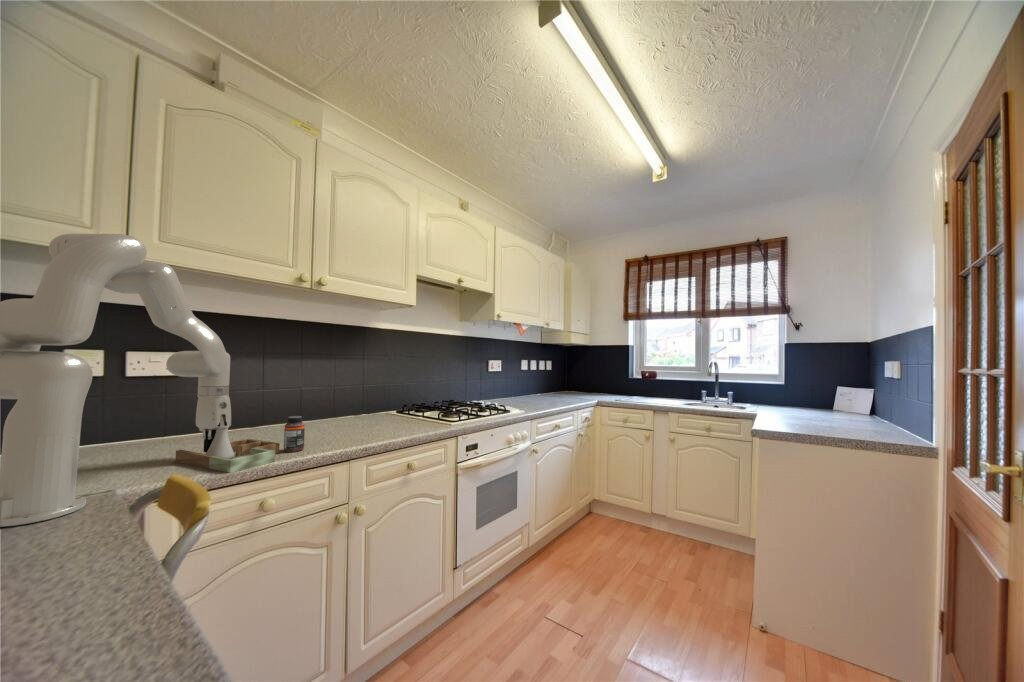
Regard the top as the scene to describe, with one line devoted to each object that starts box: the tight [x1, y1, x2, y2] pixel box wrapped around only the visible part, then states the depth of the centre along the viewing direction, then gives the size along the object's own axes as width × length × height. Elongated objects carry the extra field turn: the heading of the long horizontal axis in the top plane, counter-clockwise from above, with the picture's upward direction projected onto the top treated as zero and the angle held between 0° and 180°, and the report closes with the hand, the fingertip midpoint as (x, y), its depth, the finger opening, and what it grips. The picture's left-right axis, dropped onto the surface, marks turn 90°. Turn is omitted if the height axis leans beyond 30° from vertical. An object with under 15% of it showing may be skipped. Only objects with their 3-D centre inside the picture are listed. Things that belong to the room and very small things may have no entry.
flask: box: [205, 425, 236, 459], centre depth 112 cm, size 7×7×10 cm
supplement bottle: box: [283, 415, 306, 453], centre depth 125 cm, size 6×6×11 cm
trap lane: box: [174, 438, 280, 474], centre depth 113 cm, size 20×25×3 cm
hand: (210, 451), depth 114 cm, fingers closed
